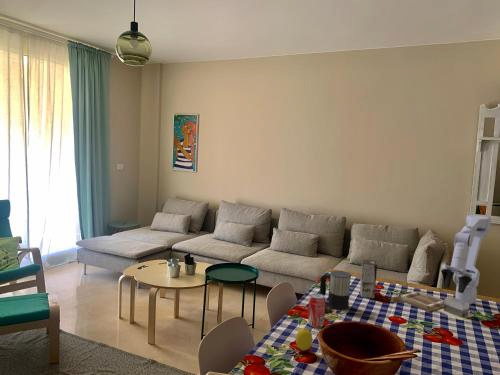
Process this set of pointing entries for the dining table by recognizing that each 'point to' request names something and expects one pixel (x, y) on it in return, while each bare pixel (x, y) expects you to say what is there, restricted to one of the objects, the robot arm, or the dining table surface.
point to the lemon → (304, 339)
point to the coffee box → (368, 278)
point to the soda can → (316, 310)
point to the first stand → (455, 315)
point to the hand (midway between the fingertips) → (453, 290)
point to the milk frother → (336, 289)
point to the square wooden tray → (421, 301)
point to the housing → (456, 306)
